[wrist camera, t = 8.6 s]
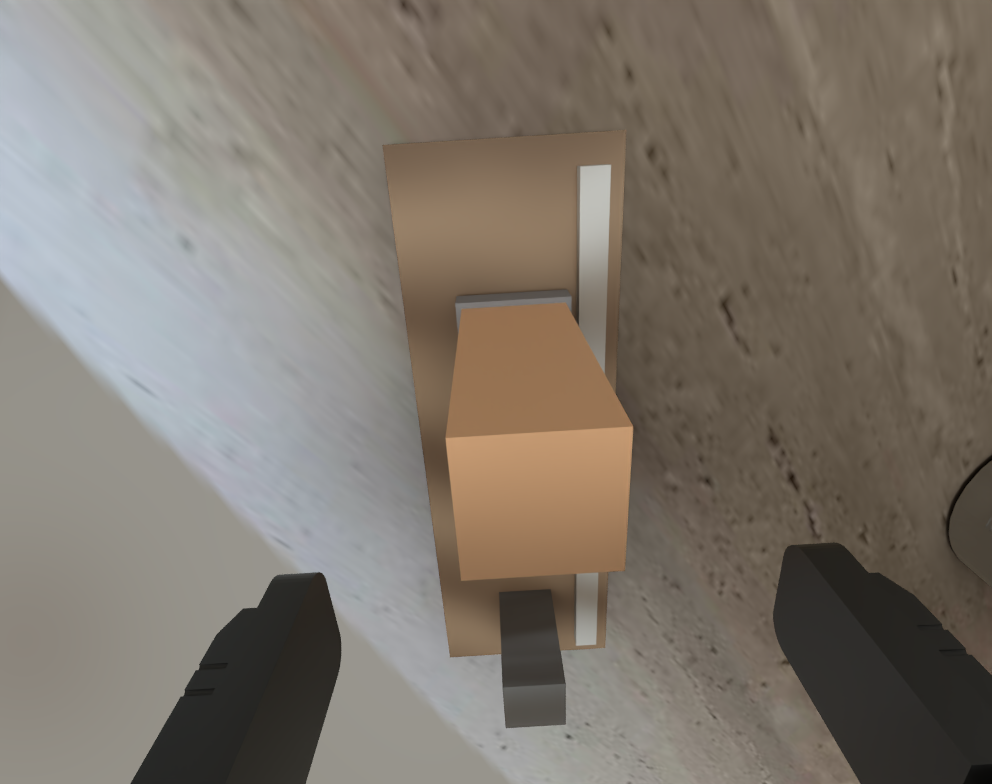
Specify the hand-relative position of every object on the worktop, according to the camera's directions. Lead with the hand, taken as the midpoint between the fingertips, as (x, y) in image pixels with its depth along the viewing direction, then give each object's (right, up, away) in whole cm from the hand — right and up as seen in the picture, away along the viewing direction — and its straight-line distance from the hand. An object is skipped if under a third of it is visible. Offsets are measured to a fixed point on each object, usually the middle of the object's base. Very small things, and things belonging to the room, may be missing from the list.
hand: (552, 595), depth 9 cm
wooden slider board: (0, +2, +14) cm, 15 cm away
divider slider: (0, +5, +11) cm, 12 cm away
